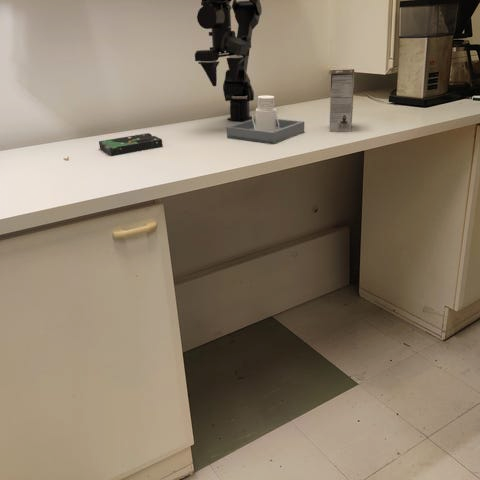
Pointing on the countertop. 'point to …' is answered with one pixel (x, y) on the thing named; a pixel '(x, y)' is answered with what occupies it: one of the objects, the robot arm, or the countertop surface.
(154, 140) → the disk drive
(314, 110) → the countertop surface
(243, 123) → the tray
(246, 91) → the robot arm
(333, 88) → the coffee box
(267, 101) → the downlight
